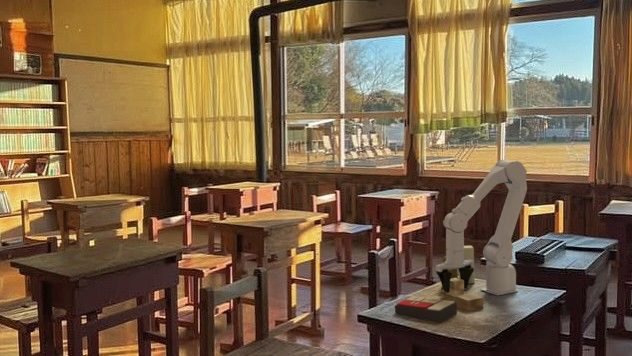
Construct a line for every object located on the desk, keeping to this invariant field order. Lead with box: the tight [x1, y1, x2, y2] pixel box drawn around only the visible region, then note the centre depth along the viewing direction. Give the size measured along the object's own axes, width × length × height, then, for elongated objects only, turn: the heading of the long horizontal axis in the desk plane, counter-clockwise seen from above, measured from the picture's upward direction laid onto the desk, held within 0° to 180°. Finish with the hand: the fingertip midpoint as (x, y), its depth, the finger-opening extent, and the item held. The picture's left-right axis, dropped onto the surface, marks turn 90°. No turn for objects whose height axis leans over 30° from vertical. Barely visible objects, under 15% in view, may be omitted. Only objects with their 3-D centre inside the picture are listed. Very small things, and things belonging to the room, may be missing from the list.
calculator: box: [394, 295, 458, 324], centre depth 180 cm, size 11×4×15 cm
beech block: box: [446, 277, 465, 298], centre depth 200 cm, size 4×4×5 cm
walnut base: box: [454, 292, 484, 312], centre depth 186 cm, size 6×6×4 cm
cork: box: [441, 255, 459, 289], centre depth 209 cm, size 6×6×11 cm
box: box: [458, 245, 476, 284], centre depth 215 cm, size 5×4×13 cm
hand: (455, 290), depth 200 cm, fingers open, 7 cm apart
